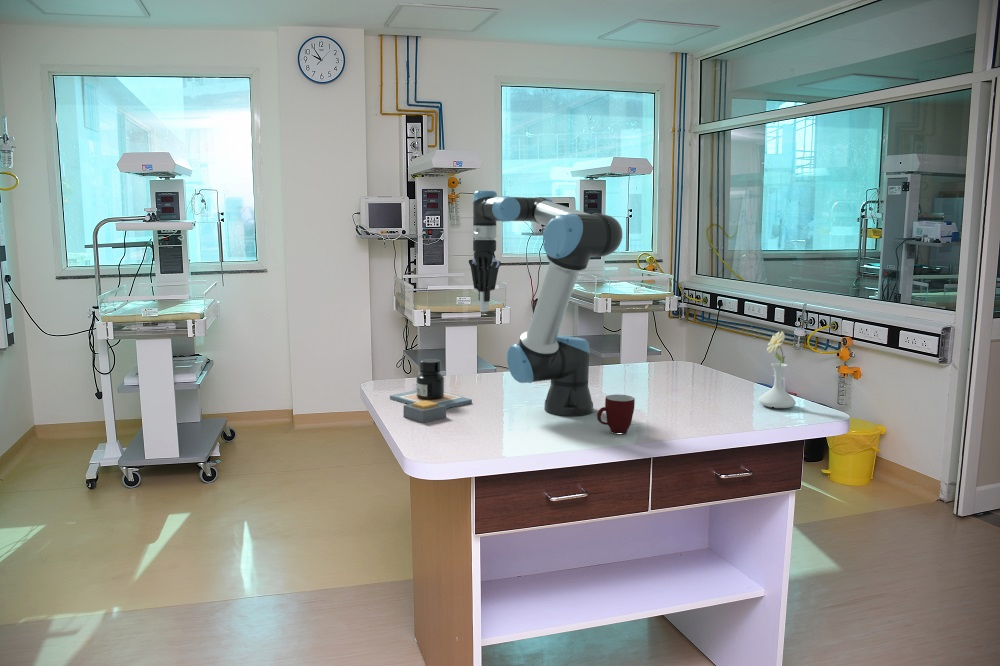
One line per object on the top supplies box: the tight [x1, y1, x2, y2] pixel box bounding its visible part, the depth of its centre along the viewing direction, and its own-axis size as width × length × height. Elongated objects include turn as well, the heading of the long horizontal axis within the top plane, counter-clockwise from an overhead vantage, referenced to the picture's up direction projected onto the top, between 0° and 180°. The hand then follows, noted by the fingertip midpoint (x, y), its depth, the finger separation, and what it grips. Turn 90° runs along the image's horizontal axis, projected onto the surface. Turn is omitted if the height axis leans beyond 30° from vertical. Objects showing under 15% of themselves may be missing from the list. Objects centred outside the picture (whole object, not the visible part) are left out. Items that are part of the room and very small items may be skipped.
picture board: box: [389, 390, 473, 409], centre depth 248 cm, size 22×16×1 cm
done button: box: [413, 400, 437, 409], centre depth 228 cm, size 5×5×4 cm
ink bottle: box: [416, 358, 445, 400], centre depth 247 cm, size 10×9×12 cm
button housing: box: [403, 403, 447, 423], centre depth 228 cm, size 9×9×4 cm
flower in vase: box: [757, 330, 796, 409], centre depth 244 cm, size 13×11×25 cm
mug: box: [596, 394, 636, 434], centre depth 214 cm, size 10×8×10 cm
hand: (484, 311), depth 252 cm, fingers closed
